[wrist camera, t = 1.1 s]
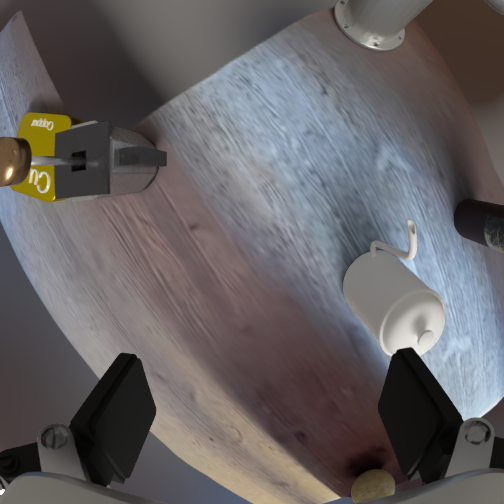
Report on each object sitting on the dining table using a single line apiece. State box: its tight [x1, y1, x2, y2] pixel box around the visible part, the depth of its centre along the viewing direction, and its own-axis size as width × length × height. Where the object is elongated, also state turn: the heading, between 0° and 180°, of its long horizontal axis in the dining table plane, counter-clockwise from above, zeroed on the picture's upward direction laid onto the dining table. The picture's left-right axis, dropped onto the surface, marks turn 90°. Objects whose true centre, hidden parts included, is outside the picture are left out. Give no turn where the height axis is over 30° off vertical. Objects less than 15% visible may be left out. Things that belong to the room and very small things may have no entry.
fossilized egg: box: [351, 469, 395, 503], centre depth 51 cm, size 13×13×15 cm
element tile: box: [10, 112, 83, 202], centre depth 38 cm, size 15×15×5 cm
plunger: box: [0, 137, 86, 187], centre depth 21 cm, size 7×7×14 cm
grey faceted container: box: [54, 121, 167, 202], centre depth 33 cm, size 9×12×15 cm
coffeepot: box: [343, 219, 445, 361], centre depth 34 cm, size 11×25×19 cm, turn 17°
